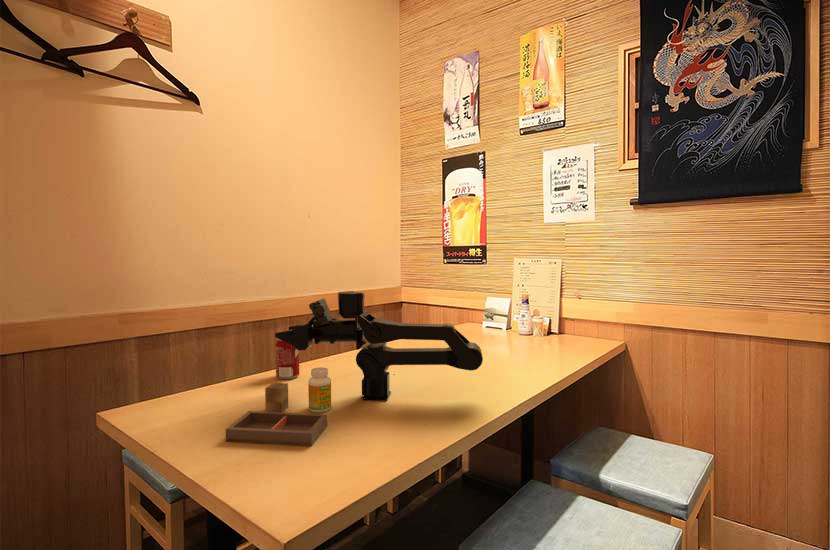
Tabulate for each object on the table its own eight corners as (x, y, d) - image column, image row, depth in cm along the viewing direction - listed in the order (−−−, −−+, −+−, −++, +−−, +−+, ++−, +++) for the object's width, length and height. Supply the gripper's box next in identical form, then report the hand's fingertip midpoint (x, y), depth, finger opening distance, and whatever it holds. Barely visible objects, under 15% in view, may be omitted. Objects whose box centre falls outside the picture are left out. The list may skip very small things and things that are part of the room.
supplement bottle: (320, 414, 106) (319, 373, 105) (303, 409, 109) (303, 370, 108) (336, 407, 110) (335, 368, 110) (319, 403, 113) (319, 365, 113)
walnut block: (288, 407, 111) (288, 383, 110) (281, 413, 107) (281, 388, 106) (272, 406, 111) (272, 382, 111) (265, 412, 107) (265, 388, 107)
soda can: (293, 381, 132) (292, 340, 131) (271, 379, 133) (271, 339, 132) (303, 374, 138) (302, 335, 137) (283, 373, 139) (282, 335, 139)
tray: (327, 426, 99) (327, 414, 99) (311, 446, 89) (311, 433, 89) (249, 422, 101) (249, 410, 101) (225, 441, 91) (225, 429, 91)
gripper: (347, 296, 127) (293, 297, 128) (327, 304, 108) (265, 305, 110) (349, 335, 127) (295, 336, 129) (329, 350, 109) (267, 351, 111)
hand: (282, 331), depth 120 cm, fingers open, 9 cm apart
